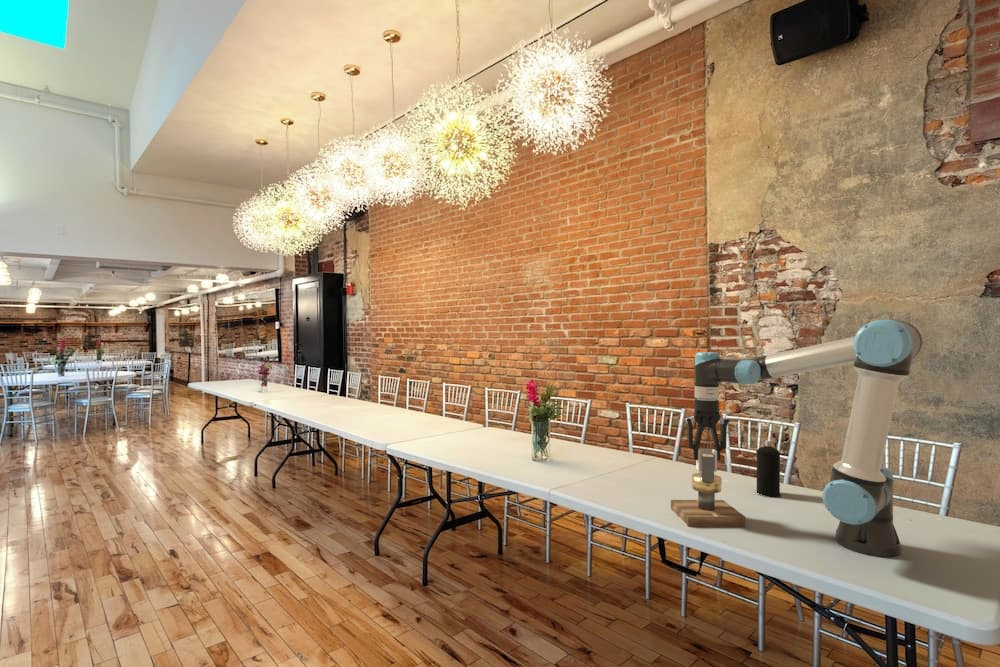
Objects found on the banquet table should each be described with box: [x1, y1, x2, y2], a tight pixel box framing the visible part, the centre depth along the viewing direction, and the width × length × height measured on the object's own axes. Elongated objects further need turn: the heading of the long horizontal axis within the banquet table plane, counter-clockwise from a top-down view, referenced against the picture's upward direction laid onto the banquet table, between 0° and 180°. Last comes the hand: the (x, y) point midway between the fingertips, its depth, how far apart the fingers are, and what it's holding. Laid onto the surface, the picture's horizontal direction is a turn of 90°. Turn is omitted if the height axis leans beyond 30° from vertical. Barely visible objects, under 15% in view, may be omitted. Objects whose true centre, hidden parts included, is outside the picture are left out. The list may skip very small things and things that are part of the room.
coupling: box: [691, 447, 722, 494], centre depth 167 cm, size 9×12×12 cm
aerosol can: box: [755, 439, 781, 498], centre depth 191 cm, size 8×8×20 cm
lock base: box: [670, 491, 747, 527], centre depth 167 cm, size 16×18×9 cm
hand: (706, 469), depth 167 cm, fingers closed on coupling, 4 cm apart
